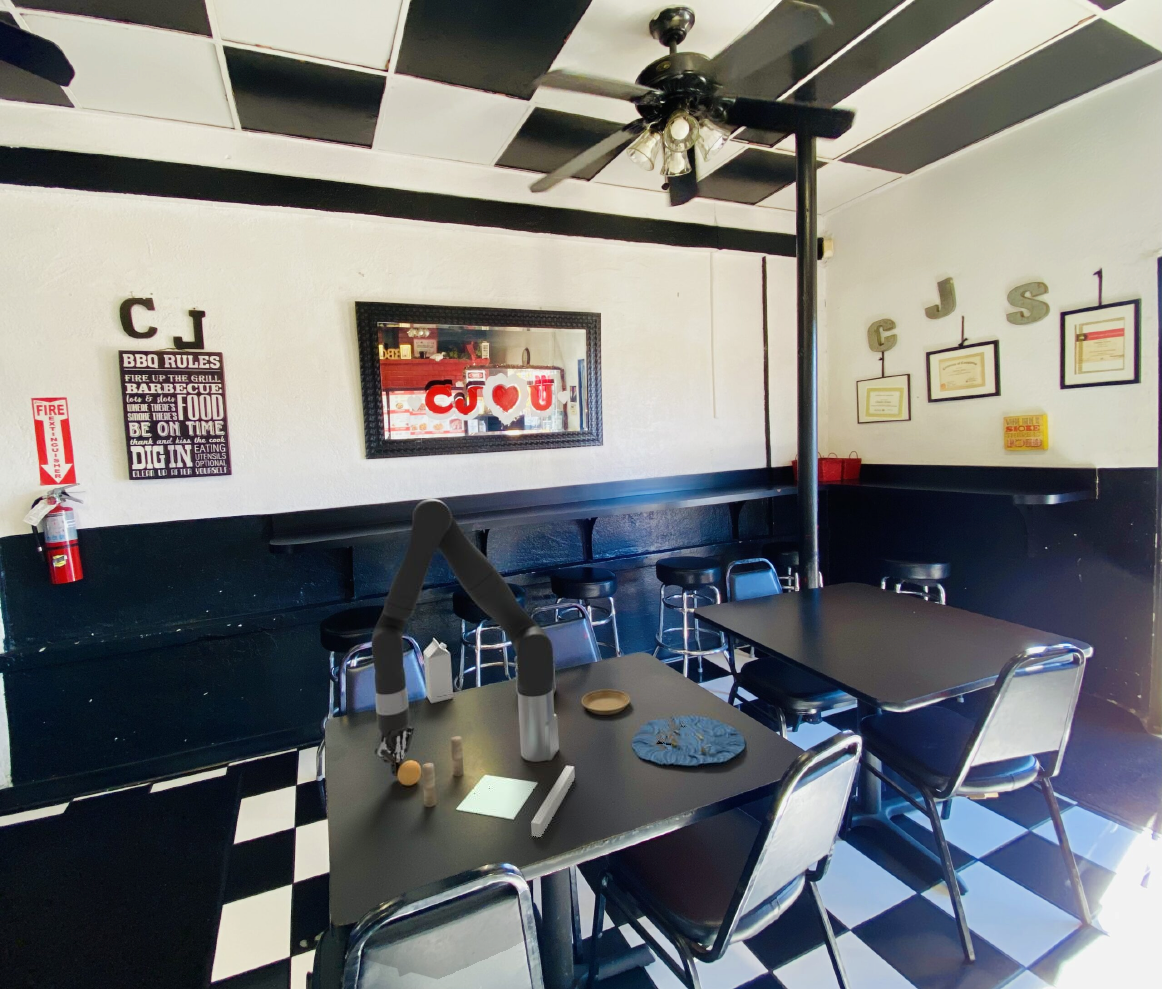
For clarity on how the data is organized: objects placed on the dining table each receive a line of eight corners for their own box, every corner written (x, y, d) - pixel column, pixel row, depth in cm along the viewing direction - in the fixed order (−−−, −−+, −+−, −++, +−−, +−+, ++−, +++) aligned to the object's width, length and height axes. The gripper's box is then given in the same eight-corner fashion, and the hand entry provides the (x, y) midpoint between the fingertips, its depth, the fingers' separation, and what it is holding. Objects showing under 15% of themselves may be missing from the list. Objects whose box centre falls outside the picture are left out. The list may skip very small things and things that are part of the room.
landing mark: (537, 783, 139) (537, 782, 139) (513, 819, 126) (513, 819, 126) (485, 775, 144) (485, 774, 144) (456, 810, 131) (456, 809, 131)
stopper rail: (574, 778, 141) (574, 766, 141) (540, 838, 120) (540, 824, 120) (566, 777, 141) (566, 765, 141) (531, 836, 121) (531, 822, 120)
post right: (465, 771, 146) (463, 736, 145) (460, 777, 144) (458, 742, 143) (456, 770, 147) (454, 735, 146) (451, 775, 144) (448, 740, 144)
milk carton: (431, 704, 186) (427, 646, 185) (426, 696, 192) (422, 639, 191) (453, 698, 189) (449, 641, 188) (447, 691, 196) (443, 635, 194)
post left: (438, 801, 134) (435, 763, 133) (432, 808, 132) (429, 769, 131) (428, 799, 135) (426, 762, 134) (422, 806, 133) (419, 768, 132)
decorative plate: (610, 740, 162) (608, 722, 161) (696, 712, 175) (695, 695, 175) (673, 789, 135) (672, 767, 135) (769, 751, 149) (768, 731, 149)
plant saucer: (574, 715, 174) (574, 706, 174) (591, 694, 188) (591, 687, 188) (622, 721, 169) (621, 713, 169) (635, 700, 183) (635, 692, 183)
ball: (405, 767, 146) (422, 780, 144) (390, 781, 141) (407, 794, 139) (411, 751, 144) (428, 764, 142) (396, 764, 139) (414, 778, 137)
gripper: (388, 720, 135) (394, 792, 136) (421, 696, 147) (426, 762, 149) (361, 717, 137) (367, 787, 139) (396, 693, 150) (401, 758, 151)
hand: (397, 774), depth 144 cm, fingers closed
